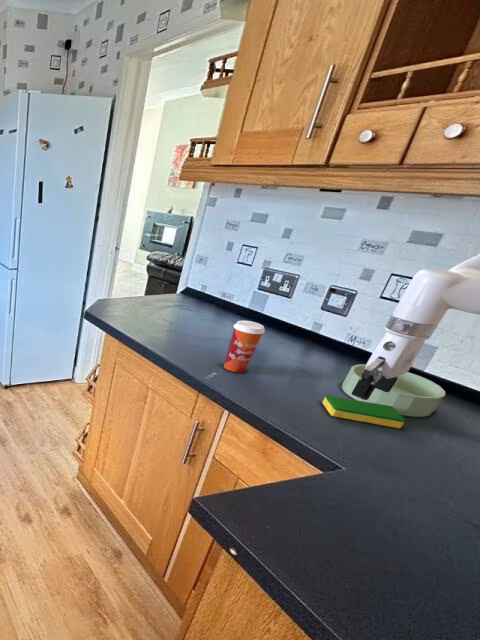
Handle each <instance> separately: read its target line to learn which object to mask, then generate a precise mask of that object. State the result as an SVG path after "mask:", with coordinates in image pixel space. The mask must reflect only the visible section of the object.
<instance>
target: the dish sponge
mask: <svg viewBox="0 0 480 640" xmlns="http://www.w3.org/2000/svg"><path fill="white" fill-rule="evenodd" d="M321 403H322V405H323V406H324V408H325V409H326V410H327V412H328V414H329V415H330V416H332V417H335V418H339V419H341V418H342V419H346V420H351V421H358V422H362V423H367V424H373V425H379V426H385V427H390V428H395V429H401V428H402V427H403V425H404V424H405V422H406V419H405V418H404V417H403V415H400V414H399V413H398V412H397V411H396V410H395V409H394V408H393V407H392V406H387V405H381V404H375V403H369V402H364V401H358V400H355V399H353V398H352V399H351V398H347V397H346V398H345V397H339V396H333V395H328V394H326V395H325V396H324V398H323V400H322V402H321Z"/></svg>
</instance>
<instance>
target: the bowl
mask: <svg viewBox="0 0 480 640" xmlns="http://www.w3.org/2000/svg"><path fill="white" fill-rule="evenodd" d="M366 364H367V363H365V364H363V363H362V364H356V365H353V366H351V368H350V369H349V371H348V372H347V374H346V377H345V379H344V381H343V382H342V385H341V389H342V391H343V392H344V393H345V394H346V395H347V396H348V397H350V398H352V399H353V400H358V401H364V402H369V403H375V404H381V405H387V406H392V407H393V408H394V409H395V410H396V411H397V412H398V413H399V414H400V415H401V416H405V417H412V418H413V417H414V418H417V417H418V418H420V417H421V418H422V417H429V416H431V415H432V414H433V412H435V411H436V410H437V408H438V407H439V405H440V404H441V402H442V401H443V399H444V398H445V396H446V391H445V390H444V389H443V388H442V386H441V385H439V384H437V383H435V382H434V381H432V380H430V379H428V378H426V377H423V376H421V375H418V374H415V373H412V372H409V371H408V372H407V373H405V374H402V375H400V376H399V377H396V378H398V379H397V381H396V382H395V384H394V385H393V387H392V389H391V390H390V392H384V391H382V390H379V389H376V388H375V389H374V391H373V392H372V394H371V396H370V397H369V399H368V400H364V399H361V398H359V397H356V396H354V395H352V391H353V390H354V388H355V386H356V384H357V383H358V381H359V378H360V377H361V376H362V373H364V370H365V367H366ZM375 371H377V370H375ZM377 372H380V371H377ZM380 373H381V372H380ZM372 375H373V374H372ZM375 377H376V375H374V378H375Z"/></svg>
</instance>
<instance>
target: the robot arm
mask: <svg viewBox="0 0 480 640" xmlns="http://www.w3.org/2000/svg"><path fill="white" fill-rule="evenodd" d="M451 309H452V310H456V311H461V312H464V313H470V314H474V315H480V253H479V254H476V255H474V256H472V257H470V258H468V259H467V260H464V261H462V262H461V263H458V264H457V265H455V266H453V267H451V268H449V269H448V270H447V269H438V268H437V269H436V268H423V269H420V270H418V271H417V272H416V273H415V274H414V276H413V277H412V279H411V281H410V282H409V284H408V286H407V288H406V289H405V291H404V293H403V294H402V296H401V298H400V299H399V301H398V303H397V304H396V307H395V309H394V310H393V311H392V313H391V316H390V317H389V319H388V321H387V323H386V324H385V325H384V330H385V331H387V332H386V333H385V334H384V335H383V337H382V338H381V340H380V341H379V343H378V344H377V345H376V348H375V349H374V350H373V352H372V354H371V356H370V357H369V358H368V360H367V362H366V363H365V364H366V367H365V370H364V373H362V376H361V377H360V378H359V381H358V383H357V384H356V386H355V388H354V390H353V391H352V395H354V396H356V397H359V398H361V399H364V400H368V399H369V397H370V396H371V394H372V392H373V391H374V389H375V388H376V389H379V390H382V391H384V392H390V390H391V389H392V387H393V385H394V384H395V382H396V381H397V379H398V378H396V377H399V376H400V375H402V374H405V373H407V372H409V371H410V369H411V368H412V366H413V364H414V363H415V361H416V359H417V357H418V355H419V353H420V351H421V350H422V348H423V346H424V344H425V341H426V340H430V339H431V337H432V335H433V334H434V332H435V330H436V329H437V327H438V326H439V324H440V323H441V321H442V319H443V318H444V316H445V315H446V313H447V312H448V310H451ZM375 370H377V371H380V372H381V373H380V372H377V371H375ZM372 374H373V375H372ZM374 375H376V377H375V378H374Z"/></svg>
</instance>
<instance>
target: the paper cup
mask: <svg viewBox="0 0 480 640" xmlns="http://www.w3.org/2000/svg"><path fill="white" fill-rule="evenodd" d="M265 332H266V330H265V327H264V325H263V324H261V323H259V322H255V321H252V320H237V321H236V323H235V324H234V325H233V330H232V334H231V338H230V341H229V343H228V346H227V347H228V348H227V351H226V355H225V359H224V362H223V368H224V369H226V370H228V371H230V372H233V373H244V372H245V371H246V369H247V367H248V364H249V363H250V361H251V358H252V357H253V355H254V352H255V351H256V350H255V349H257V346H258V344H259V342H260V340H261V337H262V335H263V334H264V333H265Z"/></svg>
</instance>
